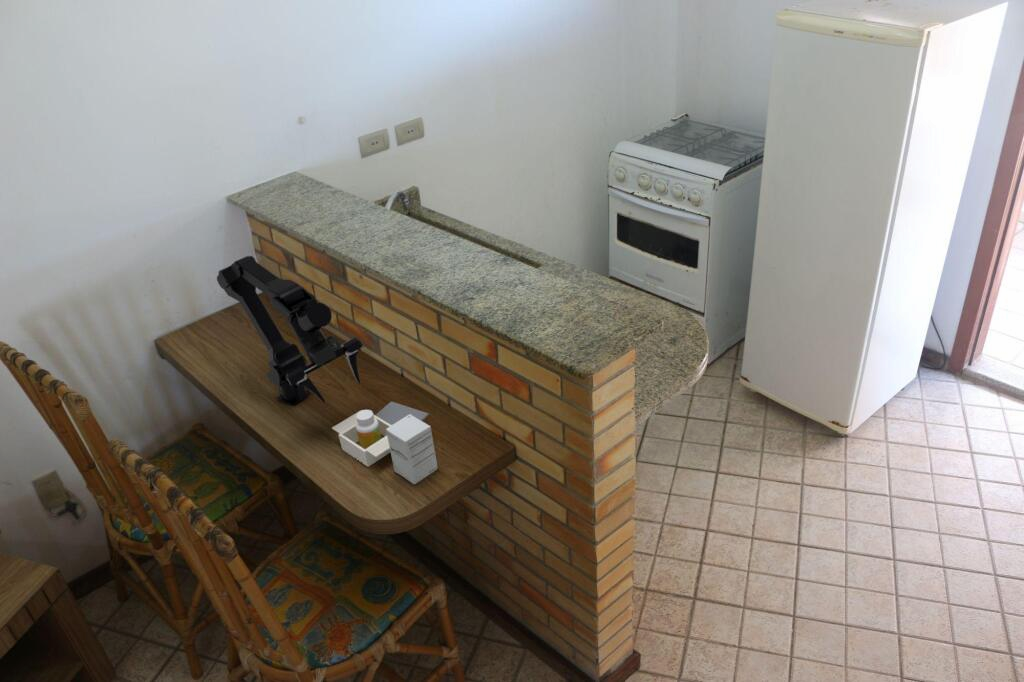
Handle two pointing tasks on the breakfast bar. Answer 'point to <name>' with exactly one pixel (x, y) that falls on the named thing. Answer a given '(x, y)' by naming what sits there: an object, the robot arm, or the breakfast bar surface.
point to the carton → (350, 438)
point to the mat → (399, 413)
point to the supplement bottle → (367, 428)
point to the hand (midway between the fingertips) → (342, 392)
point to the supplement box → (412, 448)
